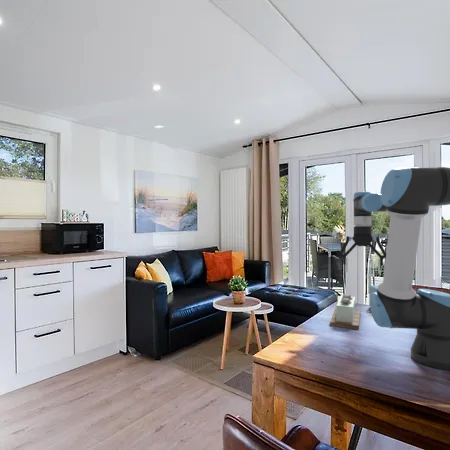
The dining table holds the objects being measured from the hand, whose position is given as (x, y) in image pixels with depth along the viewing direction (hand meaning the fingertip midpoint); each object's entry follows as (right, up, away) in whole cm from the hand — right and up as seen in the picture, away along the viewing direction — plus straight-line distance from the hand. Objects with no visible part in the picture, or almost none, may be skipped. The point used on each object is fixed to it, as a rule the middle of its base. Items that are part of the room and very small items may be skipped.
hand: (362, 272), depth 147 cm
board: (-5, -23, +6) cm, 25 cm away
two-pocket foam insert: (-5, -22, +8) cm, 23 cm away
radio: (+20, -23, +21) cm, 37 cm away
